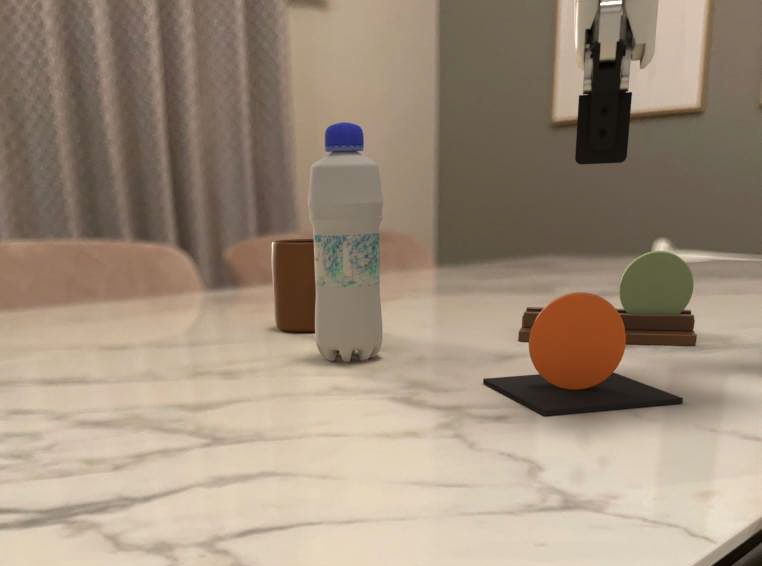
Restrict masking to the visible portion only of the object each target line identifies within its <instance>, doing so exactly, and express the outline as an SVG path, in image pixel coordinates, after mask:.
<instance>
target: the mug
mask: <svg viewBox="0 0 762 566" xmlns="http://www.w3.org/2000/svg"><path fill="white" fill-rule="evenodd" d="M271 273H272V274H271V276H272V277H271V278H272V293H273V294H272V296H273V307H274V308H273V309H274V310H273V311H274V321H275V325H276V327H277V328H278V329H279V330H281V331H284V332H289V333H290V332H291V333H315V304H316V285H315V262H314V238H296V239H295V238H293V239H281V240H275V241H272V243H271Z"/></svg>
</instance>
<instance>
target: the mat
mask: <svg viewBox="0 0 762 566" xmlns="http://www.w3.org/2000/svg"><path fill="white" fill-rule="evenodd" d="M482 384H483V385H485V386H487V387H489V388H491V389H493V390H495V391H497V392H499V393H501V394H502V395H504V396H506V397H508V398H510V399H511V400H514V402H515V401H516V402H517V403H519V404H521V405H523V406H525V407H526V408H529V409H530V410H532V411H534V412H536V413H538V414H540V415H542V416H543V417H548V416H559V415H569V414H581V413H591V412H592V413H593V412H602V411H614V410H623V409H636V408H646V407H647V408H648V407H657V406H667V405H677V404H678V405H679V404H683V403H684V398H683V397H682V396H679V395H676V394H673V393H670V392H668V391H665V390H662V389H660V388H657V387H654V386H652V385H649V384H646V383H644V382H641V381H638V380H635V379H633V378H630V377H627V376H625V375H622V374H619V373H616V372H615V371H614V372H613V373H612V374H611V375H610V376H609V377H608V378H607V379H605V380H604V381H602V382H601V383H599V384H597V385H595V386H593V387H590V388H586V389H580V390H569V389H563V388H560V387H557V386H555V385H553V384H551V383H549V382H548V381H546V380H545V379H544V378H543V377H542V376H541V375H540V374H539V373H538V374H524V375H514V376H513V375H512V376H501V377H485V378H483V379H482Z"/></svg>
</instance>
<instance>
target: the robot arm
mask: <svg viewBox="0 0 762 566" xmlns="http://www.w3.org/2000/svg"><path fill="white" fill-rule="evenodd" d="M659 2H660V0H573V31H574V33H573V34H574V48H575V61H576V64H577V67H578V68H579V69H580V70H581V71H582V72H583V79H582V80H583V81H582V83H583V84H582V94H579V95H578V102H577V103H578V106H577V120H576V121H577V122H576V137H575V138H576V140H575V155H574V159H575V162H576V163H577V164H578V165H600V164H602V165H603V164H604V165H605V164H621V163H623V162H625V161H626V159H627V157H628V148H629V147H628V145H629V135H630V125H631V124H630V123H631V110H632V98H633V91H629V88H630V87H629V85H630V75H631V74H630V73H631V62H636V61H639V70H644V69H645V68H647V67H648V66H649V65H650V64H651V62H652V61H653V59H654V55H655V52H656V39H657V27H658V26H657V25H658V12H659V4H660V3H659Z"/></svg>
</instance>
